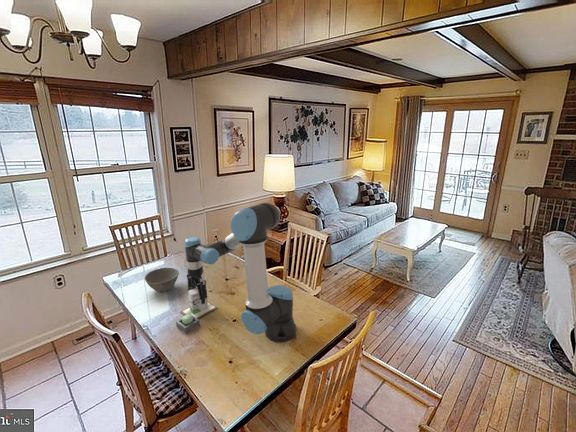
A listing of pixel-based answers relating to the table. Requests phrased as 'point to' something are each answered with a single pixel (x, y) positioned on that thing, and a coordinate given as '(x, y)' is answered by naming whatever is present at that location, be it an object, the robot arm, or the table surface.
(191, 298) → the ink box
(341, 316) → the table surface
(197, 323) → the button housing
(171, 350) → the table surface
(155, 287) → the bowl
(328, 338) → the table surface
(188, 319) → the button
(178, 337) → the table surface
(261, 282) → the robot arm
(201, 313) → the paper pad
